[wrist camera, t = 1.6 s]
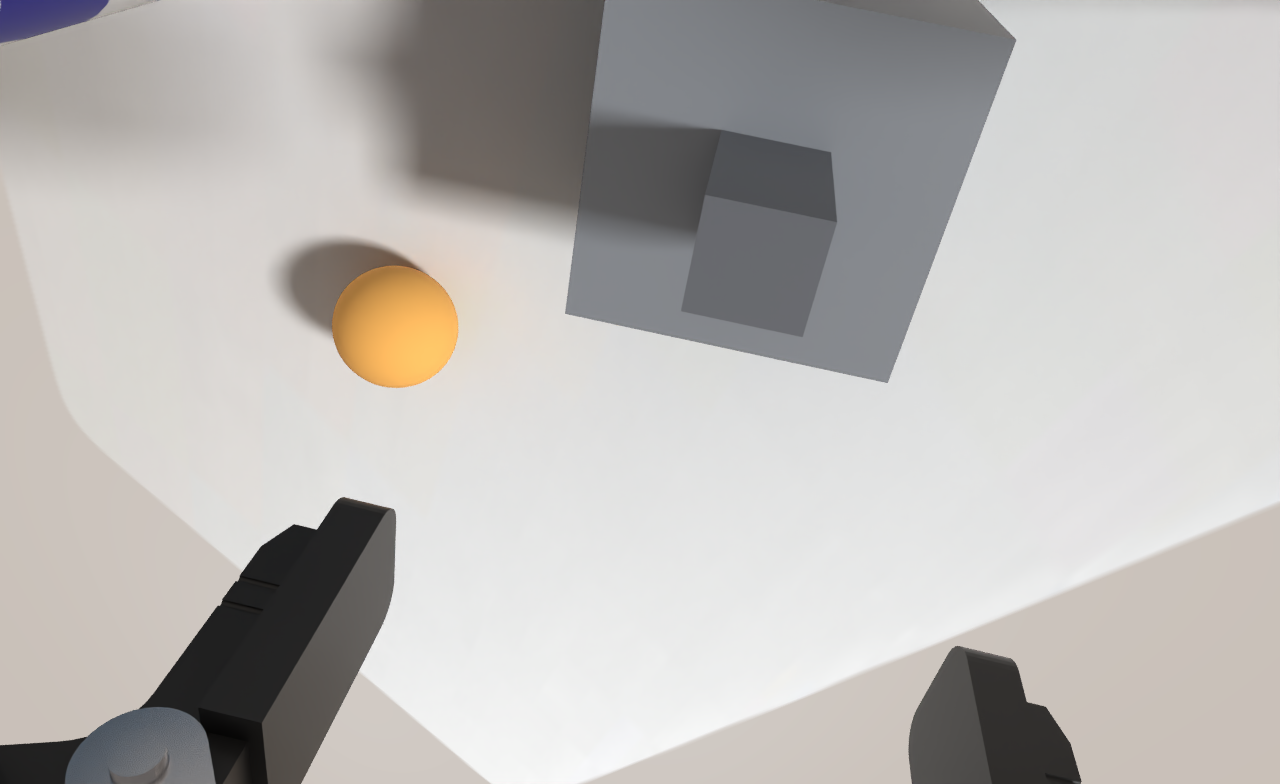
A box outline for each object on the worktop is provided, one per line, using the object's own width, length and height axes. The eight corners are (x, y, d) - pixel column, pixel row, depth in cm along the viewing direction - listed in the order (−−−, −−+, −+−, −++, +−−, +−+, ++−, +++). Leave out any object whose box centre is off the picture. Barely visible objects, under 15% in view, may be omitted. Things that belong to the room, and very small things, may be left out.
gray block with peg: (657, -76, 30) (566, -9, 18) (962, -16, 29) (1066, 92, 18) (614, 210, 35) (523, 400, 24) (869, 264, 35) (903, 483, 23)
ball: (361, 235, 38) (306, 287, 33) (476, 259, 37) (436, 315, 33) (363, 336, 40) (313, 396, 36) (470, 360, 40) (432, 422, 36)
